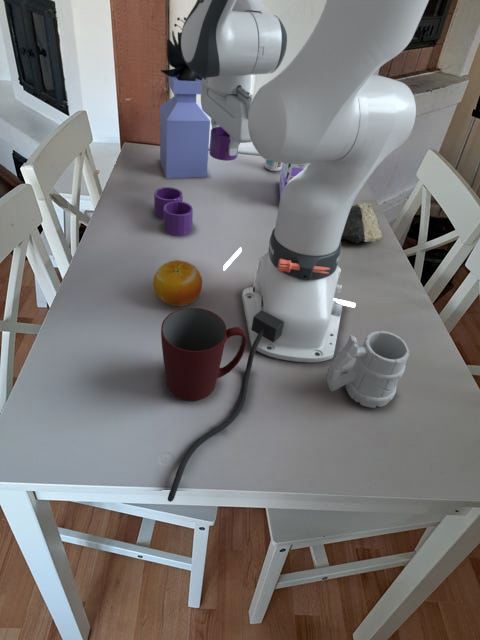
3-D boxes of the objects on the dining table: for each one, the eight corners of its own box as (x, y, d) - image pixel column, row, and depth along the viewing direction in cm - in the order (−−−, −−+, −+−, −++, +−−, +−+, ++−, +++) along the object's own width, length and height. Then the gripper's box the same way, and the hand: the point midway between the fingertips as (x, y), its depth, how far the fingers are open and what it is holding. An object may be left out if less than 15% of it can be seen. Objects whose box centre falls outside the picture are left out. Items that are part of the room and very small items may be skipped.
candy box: (304, 210, 116) (318, 144, 105) (280, 208, 116) (292, 141, 105) (299, 185, 127) (312, 123, 116) (278, 183, 126) (288, 120, 115)
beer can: (281, 166, 135) (288, 123, 127) (280, 173, 131) (288, 129, 123) (265, 164, 135) (271, 121, 127) (264, 170, 131) (270, 127, 124)
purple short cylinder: (236, 162, 102) (238, 139, 98) (207, 158, 101) (209, 135, 98) (238, 151, 106) (240, 128, 103) (211, 147, 106) (212, 124, 103)
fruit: (137, 276, 83) (162, 250, 79) (173, 274, 90) (197, 250, 85) (156, 317, 81) (183, 293, 77) (191, 312, 88) (217, 290, 83)
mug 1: (234, 357, 76) (242, 305, 69) (245, 400, 69) (255, 348, 62) (159, 362, 73) (158, 308, 66) (163, 408, 67) (163, 354, 60)
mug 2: (401, 407, 72) (430, 352, 64) (329, 415, 69) (350, 358, 61) (380, 370, 77) (404, 315, 69) (312, 376, 74) (330, 320, 67)
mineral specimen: (393, 224, 103) (332, 222, 98) (380, 252, 107) (321, 251, 103) (368, 195, 111) (310, 192, 107) (357, 222, 116) (302, 220, 112)
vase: (207, 158, 133) (216, 14, 110) (217, 176, 125) (229, 24, 102) (157, 159, 130) (155, 9, 107) (164, 178, 121) (163, 20, 98)
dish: (189, 237, 101) (190, 217, 98) (161, 233, 101) (160, 213, 98) (193, 223, 106) (194, 203, 103) (166, 219, 106) (166, 199, 103)
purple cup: (179, 222, 106) (179, 201, 102) (152, 218, 106) (151, 198, 102) (184, 208, 110) (184, 189, 107) (157, 205, 110) (157, 185, 107)
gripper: (268, 95, 88) (258, 166, 97) (223, 64, 101) (218, 129, 110) (238, 96, 86) (230, 168, 95) (196, 64, 99) (193, 130, 108)
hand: (224, 147), depth 103 cm, fingers closed on purple short cylinder, 6 cm apart
